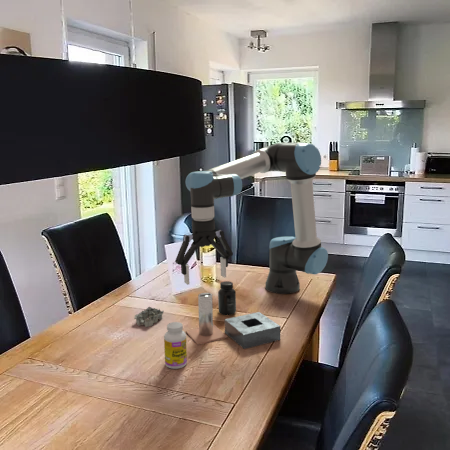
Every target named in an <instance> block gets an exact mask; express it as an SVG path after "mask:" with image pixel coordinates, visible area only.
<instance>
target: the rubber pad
mask: <svg viewBox="0 0 450 450" xmlns="http://www.w3.org/2000/svg"><path fill="white" fill-rule="evenodd" d="M185 334H186V335H188V337H190V338H191V339H192V340H193V341H194V343H196V344H197V345H203V344H206V343H210V342H211V343H212V342H215V341H219V340H224V339H228V335H227V334H226V333H225V332H223V331H222V330H221V329H220V328H218V326H216V324H214V323H213V334H212V335H211V336H201V335H200V334H199V327H195V328H191V329H187V330H186V329H185Z"/></svg>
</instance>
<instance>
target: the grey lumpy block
mask: <svg viewBox="0 0 450 450" xmlns="http://www.w3.org/2000/svg"><path fill="white" fill-rule="evenodd" d="M164 312H165V311H164V310H161V309H160V308H159V309H158V308H155V307H152V306H148V307H146V309H144V310H142V311H141V312H139V313H138V314H135V315H134V320H135V323H137V324H136V325H137V326H144V327H145V328H148V327H152V326H154V324H156V323H158V322H159V321H158V319H159V320H162V319H163V315H164Z"/></svg>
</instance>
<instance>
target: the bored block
mask: <svg viewBox="0 0 450 450" xmlns="http://www.w3.org/2000/svg"><path fill="white" fill-rule="evenodd" d="M224 334H225V335H227V337H229V338H230V339H231V340H232V341H234V342H235V343H236V344H237V345H239V346H240V347H241V348H242V349H244V350H246V349H250V348H255V347H257V346H261V345H265V344H270V343H273V341H274V342H278V341H281V325H279V324H278V323H276V322H275V321H274V320H272V319H270V318H269V317H268V316H266V315H264V314H263V313H261V312H260V311H257V312H252V313H247V314H244V315H238V316H234V317H229V318H225V319H224ZM277 340H278V341H277Z"/></svg>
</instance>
